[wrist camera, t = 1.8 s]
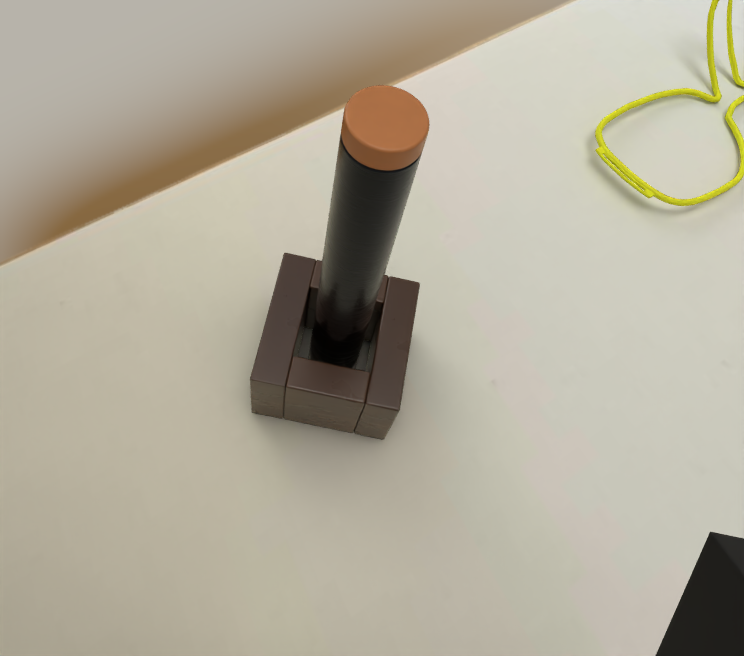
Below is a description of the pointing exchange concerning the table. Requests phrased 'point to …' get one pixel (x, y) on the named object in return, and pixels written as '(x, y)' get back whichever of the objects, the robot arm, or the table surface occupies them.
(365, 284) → the black orange-capped rod
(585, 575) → the table surface
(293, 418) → the pen holder
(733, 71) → the glasses
